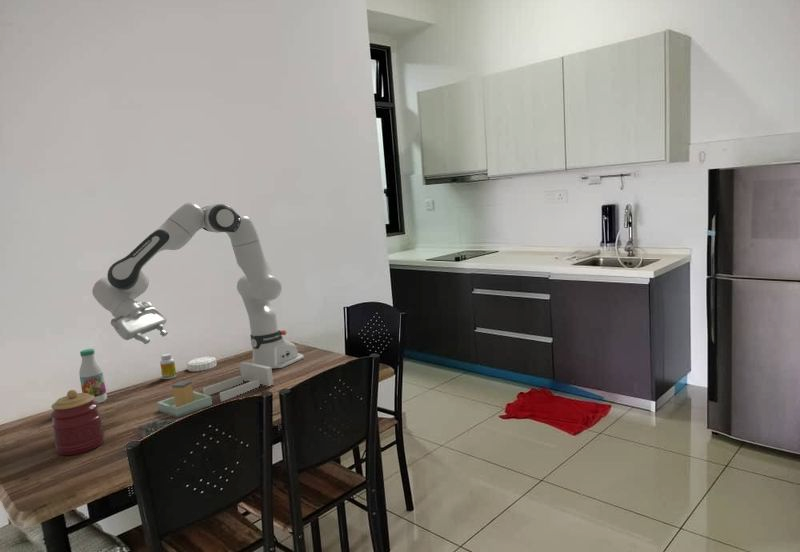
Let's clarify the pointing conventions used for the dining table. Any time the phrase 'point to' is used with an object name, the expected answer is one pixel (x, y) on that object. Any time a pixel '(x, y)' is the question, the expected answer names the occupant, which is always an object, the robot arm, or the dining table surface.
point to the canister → (76, 423)
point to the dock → (248, 373)
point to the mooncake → (201, 363)
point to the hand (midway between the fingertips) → (157, 338)
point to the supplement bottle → (167, 366)
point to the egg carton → (154, 426)
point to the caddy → (183, 393)
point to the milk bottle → (92, 376)
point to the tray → (170, 409)
